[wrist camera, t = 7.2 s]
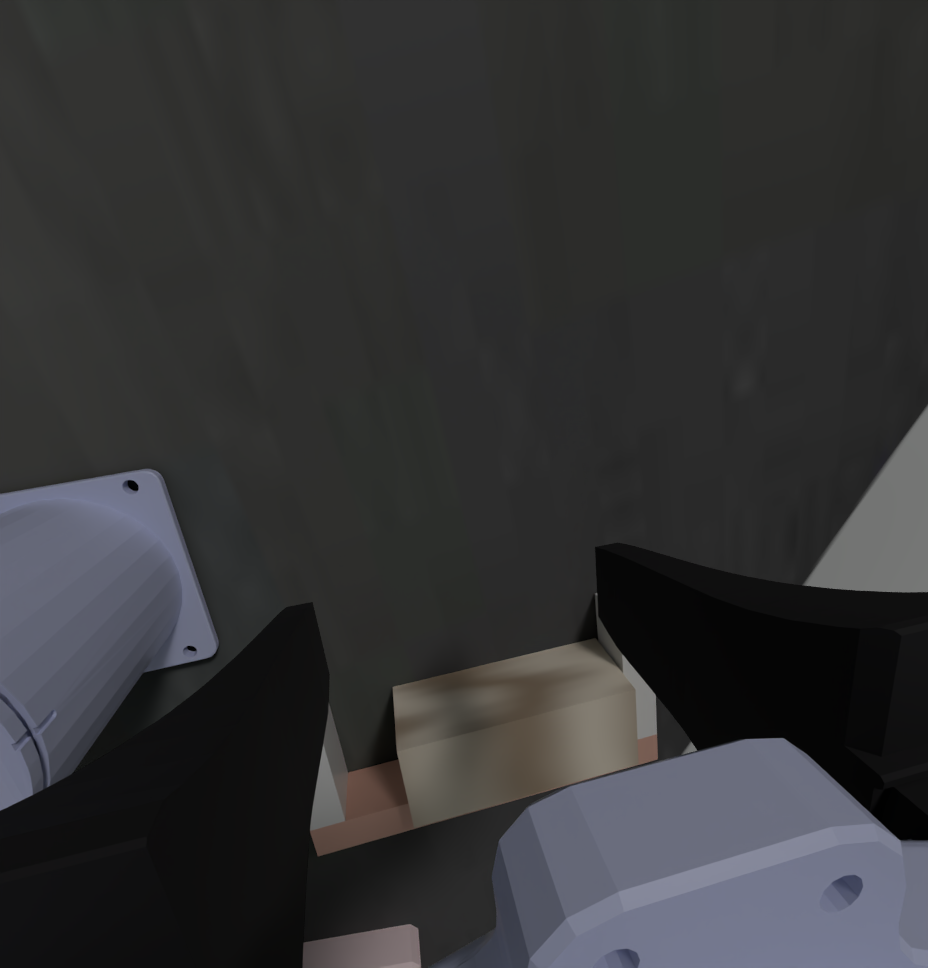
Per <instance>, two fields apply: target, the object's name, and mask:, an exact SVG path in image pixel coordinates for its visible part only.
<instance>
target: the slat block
mask: <svg viewBox="0 0 928 968" xmlns="http://www.w3.org/2000/svg"><path fill="white" fill-rule="evenodd" d="M393 701H394V716H395V731H396V746H397V755H398V759H399V763H400V768H401V772H402V777H403V781H404V785H405V790H406V794H407V799H408V803H409V807H410V812H411V816H412V821H413V825H414V828H416V827H419V826H423V825H426V824H430V823H433V822H437V821H441V820H444V819H448V818H451V817H455V816H458V815H462V814H465V813H469V812H472V811H476V810H479V809H483V808H486V807H490V806H493V805H497V804H500V803H504V802H507V801H511V800H514V799H518V798H521V797H525V796H528V795H532V794H536V793H539V792H543V791H546V790H550V789H553V788H557V787H560V786H564V785H567V784H571V783H574V782H578V781H581V780H585V779H588V778H592V777H595V776H599V775H602V774H606V773H609V772H613V771H616V770H620V769H624V768H627V767H631V766H634V765H638V764H639V762H638V738H637V714H636V690H635V688H634V687H633V686H632V684H631V683H630V682H629V680H628V679H627V678H626V677H625V675H624V674H623V673H622V671H621V670H620V669H619V668H618V666H617V665H616V664H615V662H614V661H613V660H612V659H611V657H610V656H609V655H608V653H607V652H606V651H605V650H604V648H603V647H602V646H601V644H600V643H599V642H598V641H597V639H596V638H594V639H590V640H585V641H581V642H577V643H573V644H569V645H565V646H561V647H556V648H552V649H548V650H544V651H540V652H536V653H532V654H527V655H523V656H519V657H515V658H511V659H507V660H503V661H498V662H494V663H490V664H486V665H482V666H478V667H474V668H470V669H465V670H461V671H457V672H453V673H449V674H445V675H441V676H436V677H432V678H428V679H424V680H420V681H416V682H412V683H407V684H403V685H399V686H395V687H393Z"/></svg>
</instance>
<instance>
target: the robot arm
mask: <svg viewBox="0 0 928 968" xmlns="http://www.w3.org/2000/svg"><path fill="white" fill-rule="evenodd" d="M128 480H133V481H135V482H136V483H137V484H138V487H139V490H138V491H133V490H131V489H130V488H129V487H128ZM595 553H596V576H597V599H598V617H599V618H600V620H601V622H602V624H603V625H604V627H605V629H606V630H607V632H608V634H609V635H610V637H611V639H612V640H613V642H614V643H615V645H616V647H617V648H618V649H619V651H620V652H621V653H622V654H623V656H624V657H625V658H626V659H627V661H628V662H629V663H630V664H631V665H632V667H633V668H634V669H635V670H636V672H637V673H638V674H639V675H640V676H641V678H642V679H643V680H644V681H645V682H646V684H647V685H648V686H649V687H650V689H651V690H652V691H653V692H654V693H655V695H656V696H657V697H658V698H659V699H660V701H661V702H662V703H663V704H664V705H665V707H666V708H667V709H668V710H669V711H670V713H671V714H672V715H673V717H674V718H675V719H676V720H677V722H678V723H679V724H680V726H681V727H682V728H683V730H684V731H685V733H686V734H687V736H688V737H689V739H690V740H691V742H692V743H693V745H694V746H695V747H696V749H697V751H695V752H691V753H687V754H684V755H680V756H676V757H672V758H669V759H665V760H661V761H657V762H654V763H650V764H646V765H642V766H639V767H635V768H631V769H627V770H624V771H620V772H616V773H612V774H609V775H605V776H601V777H597V778H594V779H590V780H586V781H583V782H579V783H575V784H571V785H568V786H565V787H563V788H561V789H559V790H557V791H555V792H553V793H551V794H549V795H547V796H545V797H543V798H541V799H539V800H537V801H535V802H533V803H531V804H530V805H529V806H528V807H527V808H526V809H525V810H524V811H523V813H522V814H521V815H520V816H519V817H518V818H517V820H516V821H515V822H514V823H513V824H512V825H511V827H510V828H509V829H508V830H507V831H506V832H505V834H504V835H503V836H502V837H501V839H500V840H499V843H498V848H497V853H496V858H495V863H494V868H493V873H492V882H493V889H494V896H495V903H496V910H497V916H496V928H495V929H493V930H491V931H490V932H488V933H486V934H484V935H483V936H481V937H479V938H478V939H476V940H474V941H472V942H471V943H469V944H467V945H466V946H464V947H462V948H460V949H459V950H457V951H455V952H454V953H452V954H450V955H449V956H447V957H445V958H443V959H442V960H440V961H438V962H437V963H435V964H433V965H431V966H430V967H428V968H928V592H917V593H912V592H911V593H902V592H899V593H898V592H875V591H855V590H841V589H829V588H820V587H811V586H802V585H794V584H787V583H780V582H774V581H769V580H763V579H757V578H752V577H747V576H742V575H737V574H733V573H728V572H724V571H720V570H716V569H712V568H708V567H705V566H701V565H697V564H694V563H690V562H687V561H683V560H680V559H676V558H673V557H670V556H666V555H663V554H660V553H656V552H653V551H649V550H646V549H643V548H639V547H635V546H631V545H627V544H621V543H614V544H609V545H604V546H599V547H595ZM187 646H193V647H195V648H196V649H197V651H190V650H188V648H187ZM218 646H219V641H218V638H217V635H216V632H215V629H214V626H213V623H212V620H211V617H210V614H209V611H208V608H207V605H206V602H205V599H204V596H203V594H202V591H201V588H200V585H199V582H198V579H197V576H196V573H195V570H194V567H193V564H192V561H191V558H190V555H189V552H188V549H187V546H186V543H185V541H184V538H183V535H182V532H181V529H180V526H179V523H178V520H177V517H176V514H175V511H174V508H173V505H172V502H171V499H170V496H169V493H168V490H167V488H166V485H165V482H164V479H163V477H162V476H161V474H160V473H158V472H157V471H155V470H152V469H142V470H136V471H130V472H124V473H119V474H113V475H107V476H101V477H95V478H90V479H84V480H78V481H72V482H66V483H61V484H55V485H49V486H43V487H37V488H32V489H26V490H20V491H14V492H8V493H3V494H0V968H303V941H304V920H305V901H306V882H307V866H308V851H309V836H310V825H311V817H312V809H313V802H314V796H315V790H316V784H317V778H318V772H319V766H320V760H321V755H322V749H323V743H324V737H325V730H326V724H327V718H328V707H329V670H328V666H327V662H326V658H325V653H324V649H323V645H322V641H321V636H320V632H319V628H318V624H317V619H316V615H315V611H314V607H313V602H311V603H306V604H301V605H295V606H290V607H286V608H285V609H284V610H282V611H281V612H280V613H279V614H278V615H277V616H276V617H275V618H274V619H273V620H272V621H271V622H270V623H269V624H268V625H267V626H266V627H265V628H264V629H263V630H262V631H261V632H260V633H259V634H258V635H257V636H256V637H255V638H254V639H253V640H252V641H251V642H250V643H249V644H248V645H247V646H246V647H245V648H244V649H243V650H242V651H241V652H240V653H239V654H238V655H237V656H236V657H235V658H234V659H233V660H232V661H231V662H230V663H228V664H227V665H226V666H225V667H224V668H223V669H222V670H221V671H220V672H219V673H217V674H216V675H215V676H214V677H213V678H212V679H211V680H210V681H209V682H207V683H206V684H205V685H204V686H203V687H201V688H200V689H199V690H198V691H197V692H195V693H194V694H193V695H192V696H190V697H189V698H188V699H186V700H185V701H184V702H182V703H181V704H180V705H179V706H177V707H176V708H175V709H173V710H172V711H171V712H169V713H168V714H167V715H165V716H164V717H162V718H161V719H159V720H158V721H156V722H155V723H153V724H152V725H150V726H149V727H147V728H146V729H144V730H143V731H141V732H140V733H138V734H137V735H135V736H134V737H132V738H131V739H129V740H128V741H126V742H125V743H123V744H122V745H120V746H119V747H117V748H115V749H114V750H112V751H111V752H109V753H107V754H106V755H104V756H102V757H100V758H99V759H97V760H95V761H94V762H92V763H90V764H89V765H87V766H85V767H83V768H82V769H80V770H78V771H76V772H74V770H75V769H76V767H77V766H78V765H79V763H80V762H81V760H82V759H83V757H84V756H85V755H86V753H87V752H88V750H89V749H90V748H91V746H92V745H93V743H94V742H95V740H96V739H97V738H98V736H99V735H100V733H101V732H102V730H103V729H104V728H105V726H106V725H107V723H108V722H109V721H110V719H111V718H112V716H113V715H114V713H115V712H116V711H117V709H118V708H119V706H120V705H121V703H122V702H123V701H124V699H125V698H126V696H127V695H128V694H129V692H130V691H131V689H132V688H133V686H134V685H135V684H136V682H137V681H138V679H139V678H140V676H141V675H142V674H143V673H144V672H149V671H153V670H158V669H162V668H166V667H171V666H175V665H180V664H184V663H189V662H193V661H197V660H202V659H206V658H209V657H212V656H213V655H214V654H215V653H216V651H217V649H218ZM73 772H74V773H73ZM72 773H73V774H72Z"/></svg>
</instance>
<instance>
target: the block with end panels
mask: <svg viewBox="0 0 928 968" xmlns="http://www.w3.org/2000/svg"><path fill="white" fill-rule="evenodd" d="M595 604H596V618H597V632H598V642H599V643H600V644H601V646H602V647H603V648H604V650H605V651H606V652H607V653H608V655H609V656H610V657H611V659H612V660H613V661H614V662H615V664H616V665H617V666H618V668H619V669H620V670H621V671H622V673H623V674H624V675H625V677H626V678H627V679H628V680H629V682H630V683H631V684H632V686H633V687H634V688H635V690H636V714H637V738H638V762H639V764H643V763H646V762H650V761H653V760H657V759H658V754H657V724H656V695H655V693H654V692H653V691H652V690H651V689H650V687H649V686H648V685H647V684H646V682H645V681H644V680H643V679H642V678H641V676H640V675H639V674H638V673H637V672H636V670H635V669H634V668H633V667H632V665H631V664H630V663H629V662H628V661H627V659H626V658H625V657H624V656H623V654H622V653H621V652H620V651H619V649H618V648H617V647H616V645H615V643H614V642H613V640H612V639H611V637H610V635H609V634H608V632H607V630H606V629H605V627H604V625H603V624H602V622H601V620H600V618H599V617H598V599H597V593H595ZM639 764H638V765H639ZM634 766H636V765H634ZM631 767H632V766H631ZM627 768H629V767H627ZM624 769H625V768H624ZM620 770H622V769H620ZM616 771H618V770H616ZM613 772H615V771H613ZM609 773H611V772H609ZM606 774H608V773H606ZM602 775H604V774H602ZM599 776H601V775H599ZM595 777H597V776H595ZM592 778H594V777H592ZM588 779H590V778H588ZM585 780H587V779H585ZM581 781H583V780H581ZM578 782H580V781H578ZM574 783H576V782H574ZM571 784H573V783H571ZM567 785H570V784H567ZM564 786H566V785H564ZM560 787H563V786H560ZM557 788H559V787H557ZM553 789H556V788H553ZM550 790H552V789H550ZM546 791H549V790H546ZM543 792H545V791H543ZM539 793H542V792H539ZM536 794H538V793H536ZM532 795H535V794H532ZM528 796H531V795H528ZM528 796H525V797H528ZM521 798H524V797H521ZM521 798H518V799H521ZM514 800H517V799H514ZM514 800H511V801H514ZM507 802H510V801H507ZM507 802H504V803H507ZM500 804H503V803H500ZM500 804H497V805H500ZM493 806H496V805H493ZM493 806H490V807H493ZM486 808H489V807H486ZM486 808H483V809H486ZM479 810H482V809H479ZM479 810H476V811H479ZM472 812H475V811H472ZM472 812H469V813H472ZM465 814H468V813H465ZM465 814H462V815H465ZM458 816H461V815H458ZM458 816H455V817H458ZM451 818H454V817H451ZM451 818H448V819H451ZM444 820H447V819H444ZM444 820H441V821H444ZM437 822H440V821H437ZM437 822H433V823H437ZM433 823H430V824H433ZM430 824H426V825H430ZM426 825H423V826H426ZM423 826H419V827H423ZM419 827H416V828H419ZM416 828H414V825H413V821H412V816H411V812H410V807H409V803H408V799H407V794H406V790H405V785H404V781H403V777H402V772H401V768H400V763H399V759H398V760H394V761H390V762H386V763H383V764H379V765H375V766H371V767H368V768H364V769H360V770H356V771H352V772H349V773H348V771H347V767H346V763H345V760H344V756H343V752H342V749H341V745H340V742H339V738H338V734H337V731H336V727H335V723H334V720H333V716H332V712H331V709H330V705H329V707H328V718H327V724H326V730H325V737H324V743H323V749H322V755H321V760H320V766H319V772H318V778H317V784H316V790H315V796H314V802H313V809H312V817H311V825H310V833H311V836H312V839H313V843H314V846H315V849H316V852H317V855H318V856H321V855H325V854H328V853H332V852H335V851H339V850H342V849H346V848H349V847H353V846H356V845H360V844H363V843H367V842H370V841H374V840H377V839H381V838H384V837H388V836H391V835H395V834H398V833H402V832H405V831H409V830H412V829H416Z"/></svg>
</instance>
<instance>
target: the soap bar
mask: <svg viewBox="0 0 928 968" xmlns="http://www.w3.org/2000/svg"><path fill="white" fill-rule="evenodd" d="M303 968H421V961H420V948H419V935H418V928H416V927H414V926H412V925H411V924H408V925H402V926H397V927H391V928H385V929H379V930H373V931H368V932H362V933H356V934H350V935H344V936H339V937H333V938H327V939H321V940H315V941H310V942H304V943H303Z"/></svg>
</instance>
